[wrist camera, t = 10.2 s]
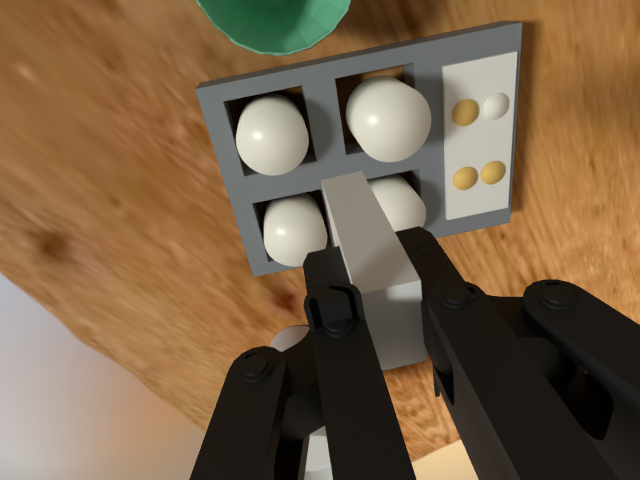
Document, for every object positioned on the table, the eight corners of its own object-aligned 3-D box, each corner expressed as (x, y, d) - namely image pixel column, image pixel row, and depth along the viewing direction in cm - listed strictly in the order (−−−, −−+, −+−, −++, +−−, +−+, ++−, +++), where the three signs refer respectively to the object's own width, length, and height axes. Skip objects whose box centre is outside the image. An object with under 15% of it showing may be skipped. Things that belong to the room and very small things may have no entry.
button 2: (231, 100, 35) (227, 112, 31) (296, 86, 35) (301, 97, 31) (248, 163, 38) (246, 181, 34) (309, 150, 38) (314, 167, 34)
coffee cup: (251, 371, 52) (248, 495, 39) (264, 311, 47) (264, 427, 34) (326, 377, 54) (346, 496, 41) (345, 319, 49) (374, 432, 36)
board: (200, 82, 35) (194, 90, 32) (503, 20, 35) (526, 22, 32) (254, 260, 44) (253, 280, 41) (495, 209, 44) (512, 225, 41)
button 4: (341, 83, 33) (351, 94, 29) (410, 69, 33) (429, 77, 29) (350, 151, 36) (361, 169, 32) (414, 137, 36) (432, 154, 32)
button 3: (351, 177, 40) (360, 196, 36) (408, 165, 40) (424, 183, 36) (358, 229, 42) (368, 251, 39) (412, 217, 43) (427, 239, 39)
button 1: (257, 197, 40) (256, 218, 36) (315, 185, 40) (321, 205, 36) (271, 247, 42) (272, 272, 38) (325, 236, 42) (331, 259, 39)
